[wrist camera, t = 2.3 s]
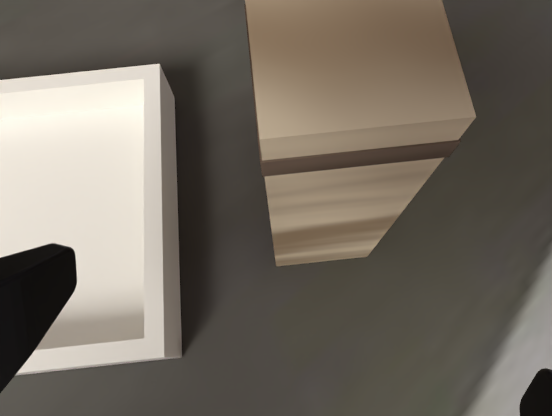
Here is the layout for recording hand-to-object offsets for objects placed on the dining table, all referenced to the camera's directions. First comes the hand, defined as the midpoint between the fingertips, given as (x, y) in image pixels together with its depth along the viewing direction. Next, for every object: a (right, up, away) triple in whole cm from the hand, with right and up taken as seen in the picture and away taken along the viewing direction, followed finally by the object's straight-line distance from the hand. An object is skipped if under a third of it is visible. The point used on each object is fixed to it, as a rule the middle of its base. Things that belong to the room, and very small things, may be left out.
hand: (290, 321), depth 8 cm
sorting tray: (-12, +1, +14) cm, 19 cm away
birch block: (+2, +2, +14) cm, 14 cm away
